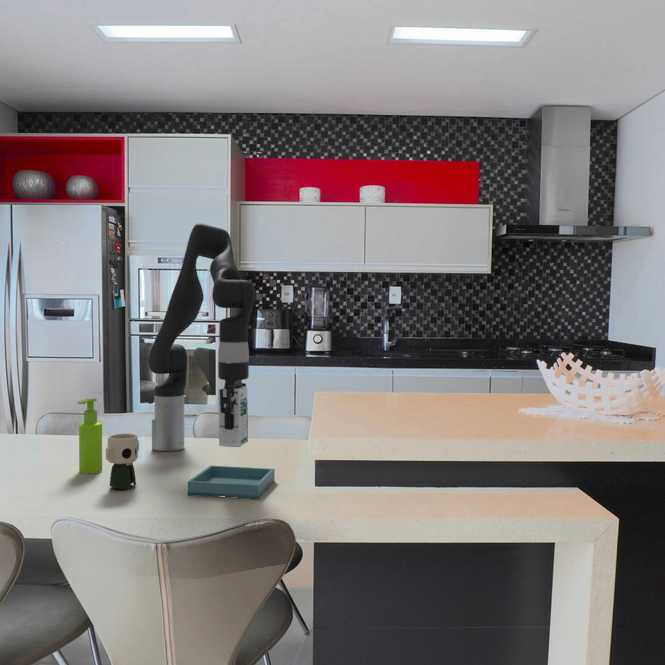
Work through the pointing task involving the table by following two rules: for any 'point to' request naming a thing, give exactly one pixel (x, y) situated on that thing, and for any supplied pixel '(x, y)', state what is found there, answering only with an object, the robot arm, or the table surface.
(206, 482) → the teal tray
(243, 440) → the syrup box
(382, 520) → the table surface
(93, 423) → the soap dispenser
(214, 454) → the table surface
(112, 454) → the character mug
